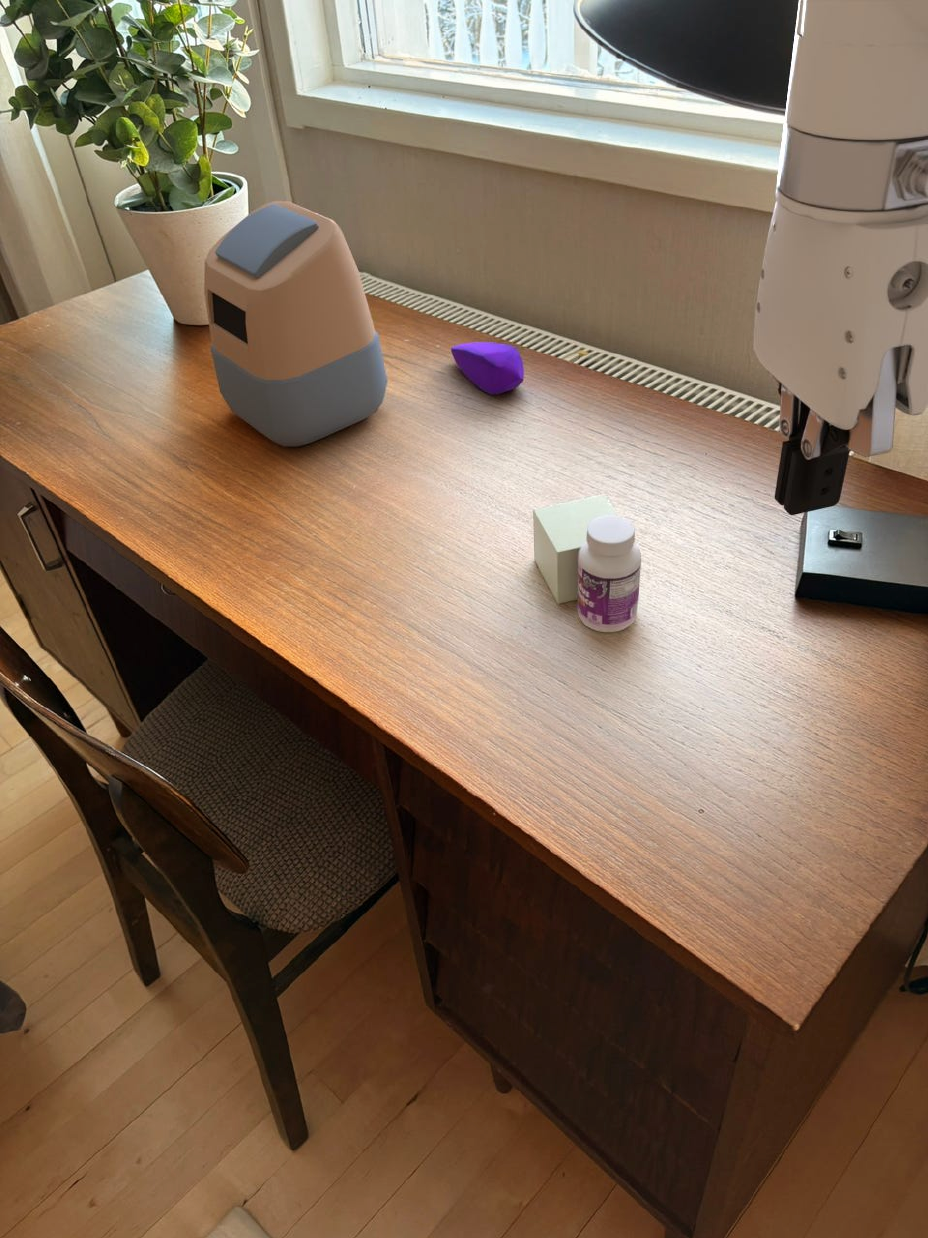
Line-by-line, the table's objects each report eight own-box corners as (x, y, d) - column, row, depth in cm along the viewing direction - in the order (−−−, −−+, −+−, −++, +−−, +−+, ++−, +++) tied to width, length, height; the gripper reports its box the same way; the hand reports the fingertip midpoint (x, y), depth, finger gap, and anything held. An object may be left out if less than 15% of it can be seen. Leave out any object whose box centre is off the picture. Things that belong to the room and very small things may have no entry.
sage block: (629, 587, 87) (632, 535, 83) (557, 604, 86) (557, 552, 82) (602, 544, 92) (604, 493, 88) (534, 559, 91) (532, 508, 87)
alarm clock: (216, 414, 117) (164, 224, 102) (329, 368, 125) (295, 184, 109) (285, 466, 107) (237, 263, 92) (403, 412, 114) (377, 216, 99)
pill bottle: (565, 609, 86) (565, 523, 79) (613, 588, 87) (617, 502, 81) (600, 643, 82) (603, 555, 76) (649, 620, 84) (656, 533, 77)
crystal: (464, 325, 123) (536, 352, 112) (469, 361, 125) (539, 391, 115) (434, 336, 121) (503, 365, 110) (439, 372, 124) (508, 404, 113)
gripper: (1059, 196, 37) (945, 564, 49) (851, 113, 48) (800, 429, 60) (886, 228, 36) (813, 595, 48) (715, 136, 47) (690, 453, 59)
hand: (806, 502), depth 54 cm, fingers closed
